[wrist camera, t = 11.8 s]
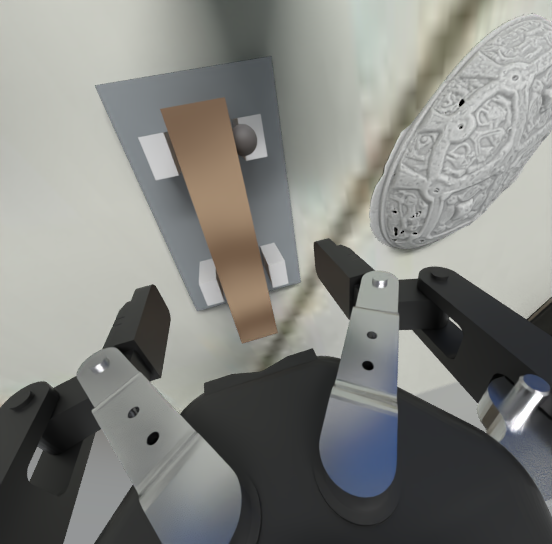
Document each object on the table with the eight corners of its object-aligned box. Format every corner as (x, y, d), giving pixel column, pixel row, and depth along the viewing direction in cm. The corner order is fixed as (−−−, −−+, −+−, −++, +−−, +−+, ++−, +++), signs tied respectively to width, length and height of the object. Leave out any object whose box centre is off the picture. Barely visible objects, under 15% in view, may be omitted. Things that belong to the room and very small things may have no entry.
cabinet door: (177, 114, 18) (159, 109, 11) (236, 103, 18) (253, 91, 12) (233, 288, 26) (242, 343, 20) (272, 277, 27) (293, 328, 20)
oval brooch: (341, 228, 27) (383, 254, 22) (508, -51, 20) (636, -116, 14) (414, 265, 35) (459, 291, 30) (555, 77, 28) (648, 66, 22)
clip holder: (102, 88, 17) (65, 75, 13) (267, 60, 19) (286, 39, 14) (197, 303, 28) (195, 337, 24) (296, 275, 30) (313, 303, 25)
